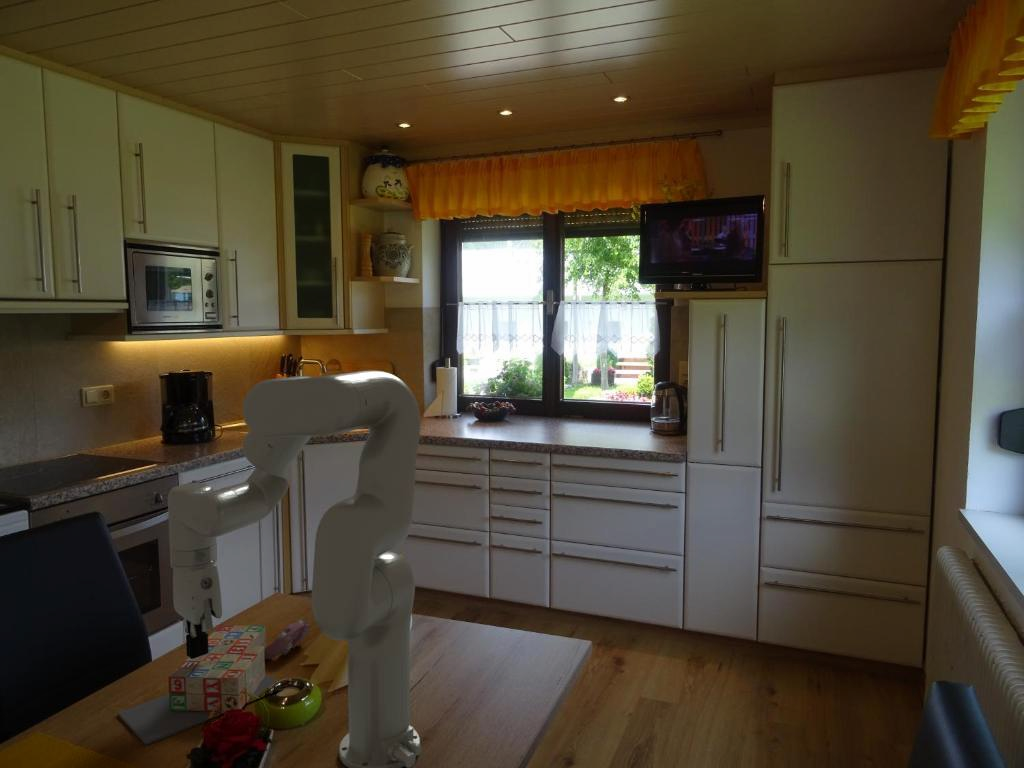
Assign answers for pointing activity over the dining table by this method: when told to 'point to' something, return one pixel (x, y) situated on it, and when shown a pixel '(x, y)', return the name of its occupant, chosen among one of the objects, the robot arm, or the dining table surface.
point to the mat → (168, 717)
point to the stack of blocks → (221, 671)
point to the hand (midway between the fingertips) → (197, 654)
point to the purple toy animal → (287, 639)
